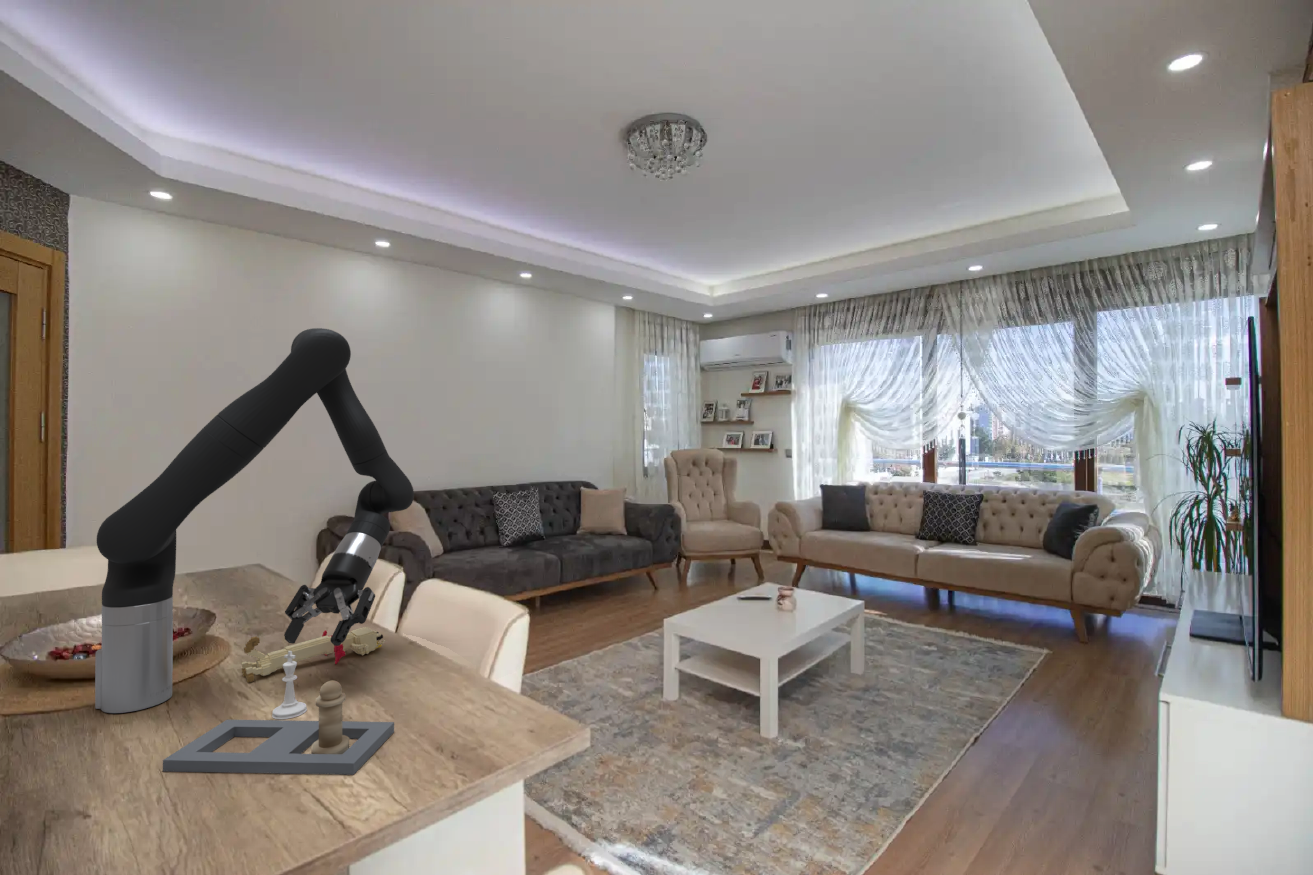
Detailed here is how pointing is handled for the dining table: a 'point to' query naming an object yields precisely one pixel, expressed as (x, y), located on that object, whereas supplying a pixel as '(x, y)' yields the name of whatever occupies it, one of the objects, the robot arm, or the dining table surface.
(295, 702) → the chess piece
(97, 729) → the dining table surface
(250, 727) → the grey chess piece holder
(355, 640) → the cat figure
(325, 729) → the pawn
